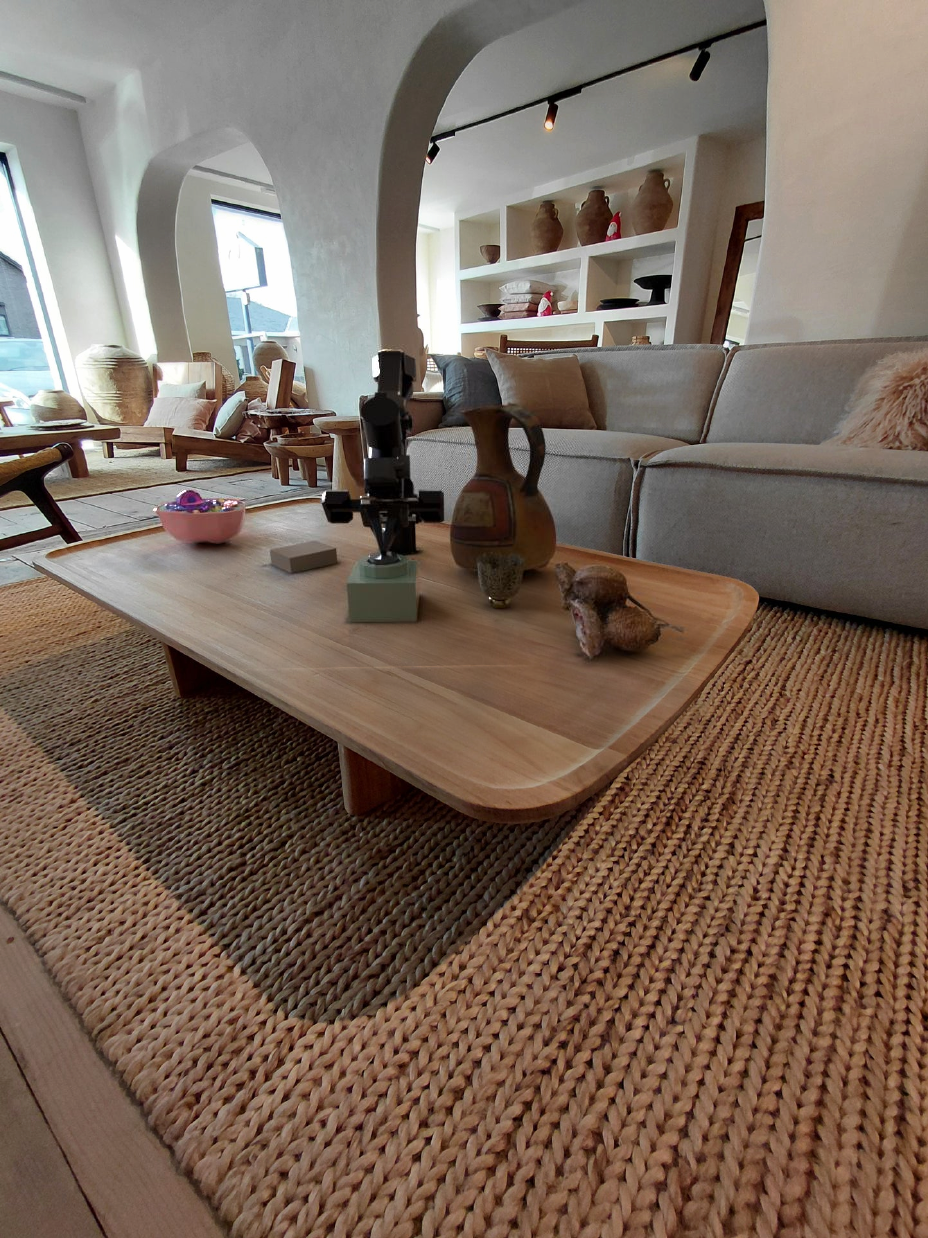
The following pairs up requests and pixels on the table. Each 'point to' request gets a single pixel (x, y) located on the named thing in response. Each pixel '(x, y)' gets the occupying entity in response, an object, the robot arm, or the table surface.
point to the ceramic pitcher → (503, 494)
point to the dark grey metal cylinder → (383, 558)
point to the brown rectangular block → (303, 556)
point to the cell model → (202, 518)
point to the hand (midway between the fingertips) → (383, 553)
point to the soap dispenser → (383, 591)
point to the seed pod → (606, 609)
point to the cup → (500, 577)
